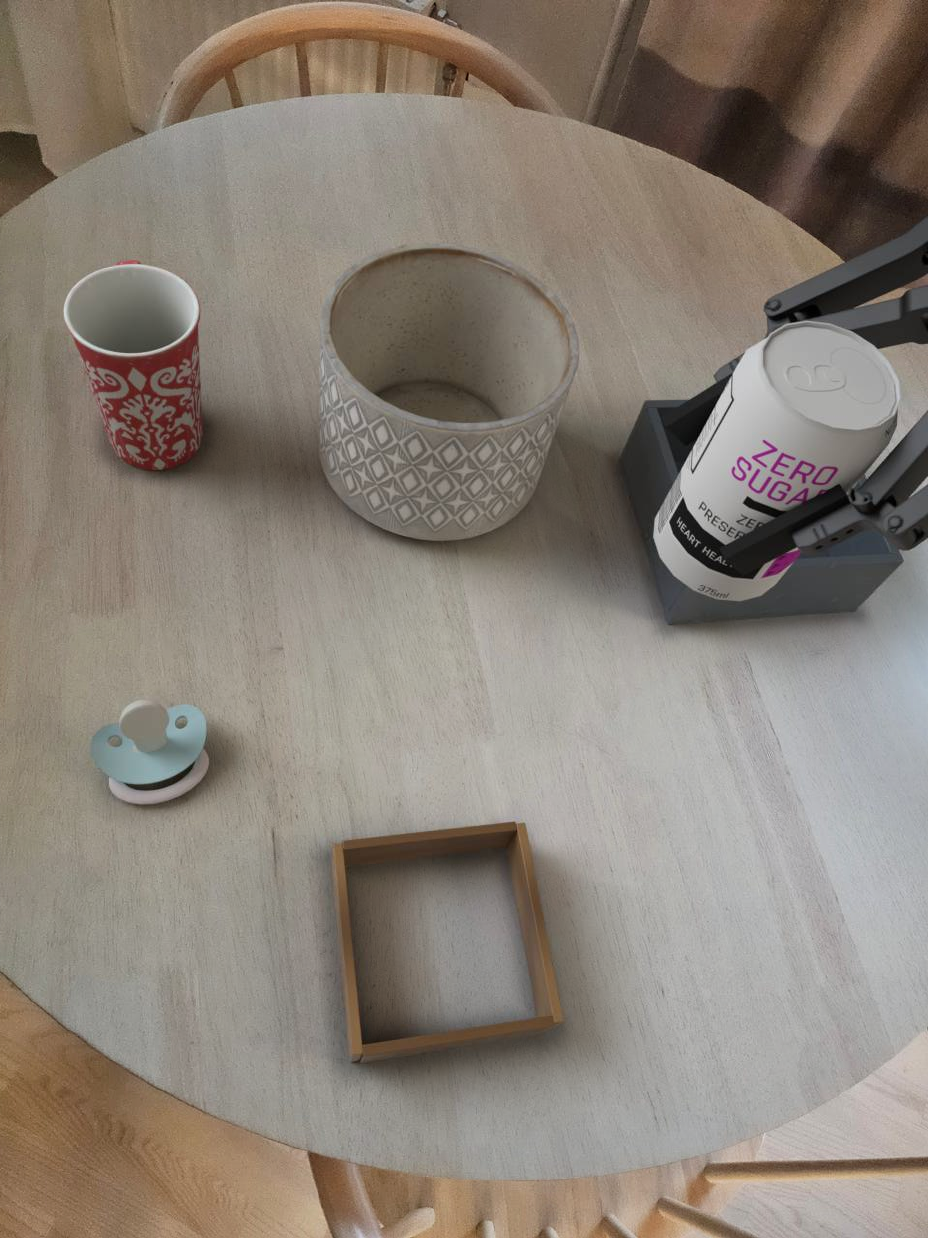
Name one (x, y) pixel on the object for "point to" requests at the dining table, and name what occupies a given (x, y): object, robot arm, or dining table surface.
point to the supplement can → (776, 450)
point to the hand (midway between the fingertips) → (701, 494)
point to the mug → (141, 360)
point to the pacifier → (152, 750)
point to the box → (529, 918)
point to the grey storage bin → (804, 587)
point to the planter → (440, 388)
